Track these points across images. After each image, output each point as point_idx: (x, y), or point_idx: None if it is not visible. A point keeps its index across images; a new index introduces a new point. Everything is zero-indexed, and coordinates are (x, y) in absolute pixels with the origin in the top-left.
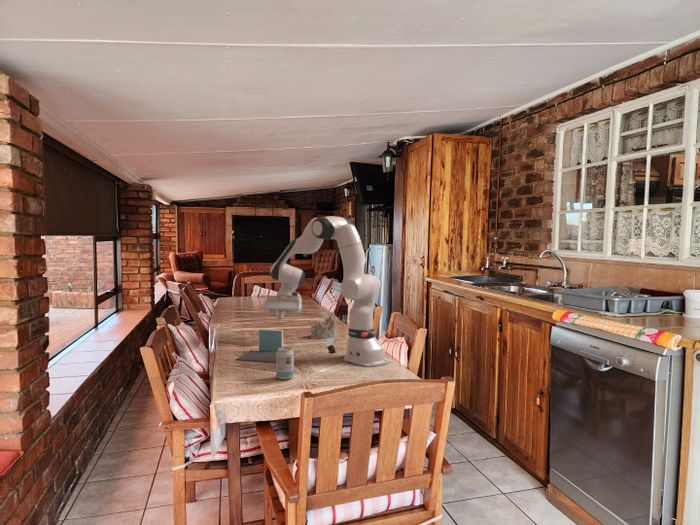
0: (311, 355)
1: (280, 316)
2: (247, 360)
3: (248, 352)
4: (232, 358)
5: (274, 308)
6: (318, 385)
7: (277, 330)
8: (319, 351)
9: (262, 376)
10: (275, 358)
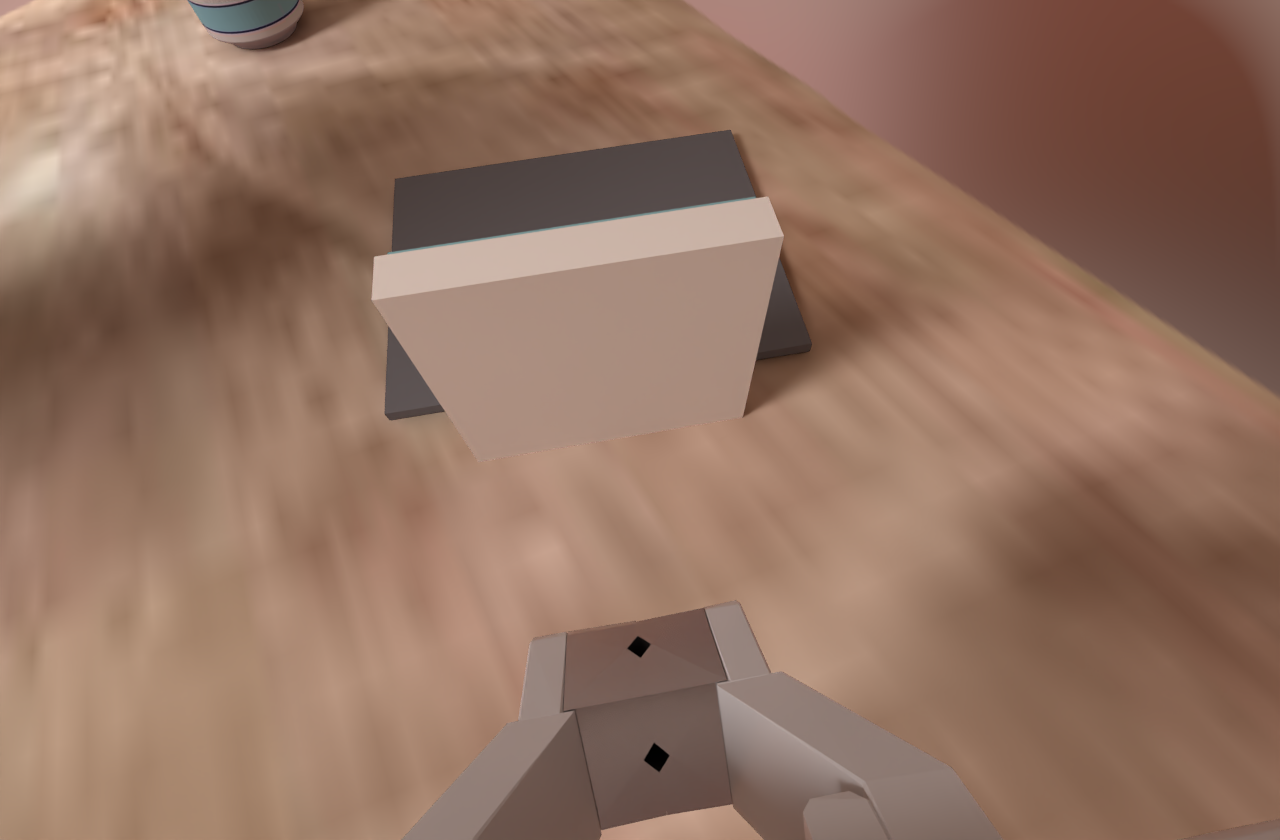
0: (141, 452)
1: (581, 629)
2: (638, 147)
3: (773, 282)
4: (792, 162)
5: (1218, 836)
6: (72, 18)
7: (452, 245)
8: (47, 638)
9: (396, 15)
10: (442, 229)
